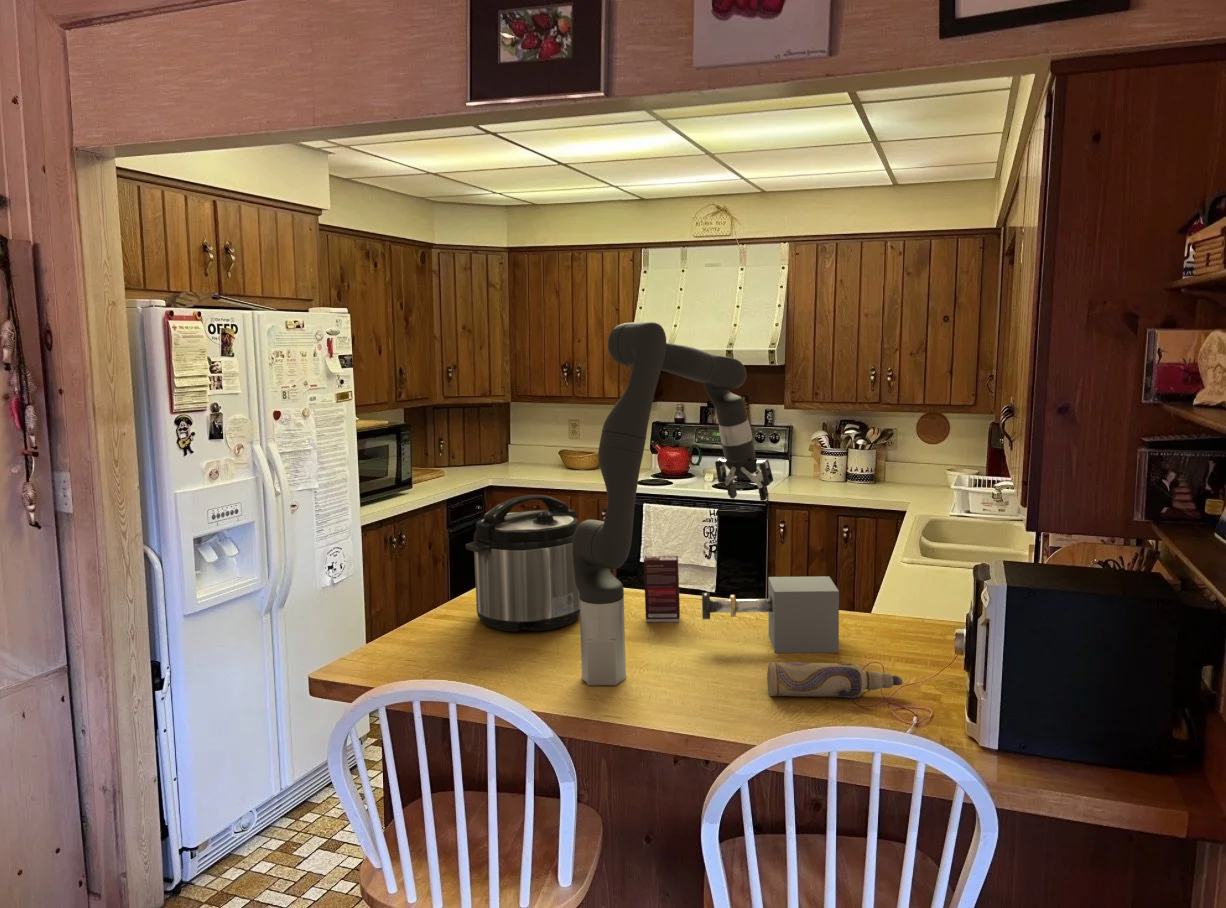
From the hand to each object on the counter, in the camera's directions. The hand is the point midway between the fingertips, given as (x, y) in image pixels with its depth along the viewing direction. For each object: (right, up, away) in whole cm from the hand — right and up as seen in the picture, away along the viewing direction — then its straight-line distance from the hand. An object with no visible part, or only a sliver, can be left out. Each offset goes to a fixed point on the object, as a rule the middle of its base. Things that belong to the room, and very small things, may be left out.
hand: (748, 498), depth 220 cm
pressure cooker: (-55, -31, +7) cm, 64 cm away
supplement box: (-21, -31, +3) cm, 37 cm away
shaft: (-3, -27, -17) cm, 32 cm away
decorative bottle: (+9, -37, -47) cm, 60 cm away
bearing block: (+10, -32, -17) cm, 38 cm away
